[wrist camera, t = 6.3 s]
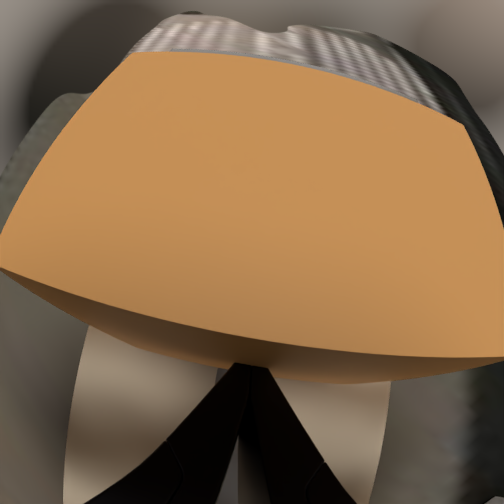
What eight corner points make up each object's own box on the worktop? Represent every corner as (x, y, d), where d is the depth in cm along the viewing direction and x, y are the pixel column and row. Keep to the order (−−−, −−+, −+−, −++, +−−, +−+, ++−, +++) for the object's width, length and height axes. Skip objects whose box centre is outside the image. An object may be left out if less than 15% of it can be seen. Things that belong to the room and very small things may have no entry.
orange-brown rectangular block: (344, 384, 11) (521, 355, 3) (136, 347, 11) (-12, 262, 3) (352, 260, 14) (463, 125, 6) (172, 225, 14) (132, 52, 6)
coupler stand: (341, 551, 9) (417, 623, 1) (72, 506, 9) (-20, 555, 1) (380, 203, 19) (445, 108, 11) (161, 160, 19) (140, 45, 11)
